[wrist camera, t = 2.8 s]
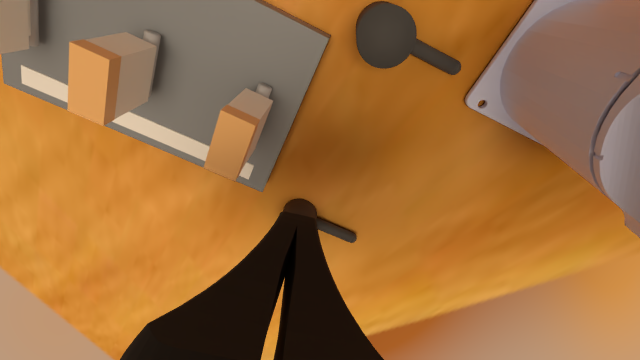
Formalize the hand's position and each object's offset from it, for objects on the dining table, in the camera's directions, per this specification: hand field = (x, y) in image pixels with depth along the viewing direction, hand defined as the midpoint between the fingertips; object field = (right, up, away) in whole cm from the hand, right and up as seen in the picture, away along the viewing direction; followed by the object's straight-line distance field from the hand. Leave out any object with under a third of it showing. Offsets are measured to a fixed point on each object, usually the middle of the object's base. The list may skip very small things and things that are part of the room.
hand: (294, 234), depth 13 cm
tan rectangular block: (-3, +6, +6) cm, 9 cm away
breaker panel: (-9, +10, +7) cm, 15 cm away
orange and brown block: (-9, +9, +6) cm, 13 cm away
